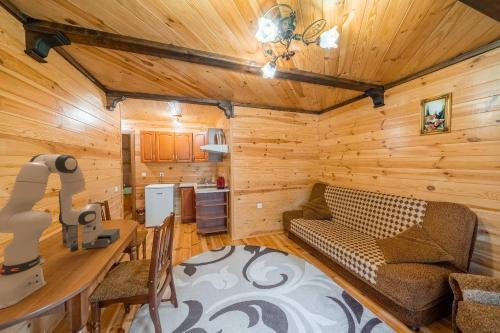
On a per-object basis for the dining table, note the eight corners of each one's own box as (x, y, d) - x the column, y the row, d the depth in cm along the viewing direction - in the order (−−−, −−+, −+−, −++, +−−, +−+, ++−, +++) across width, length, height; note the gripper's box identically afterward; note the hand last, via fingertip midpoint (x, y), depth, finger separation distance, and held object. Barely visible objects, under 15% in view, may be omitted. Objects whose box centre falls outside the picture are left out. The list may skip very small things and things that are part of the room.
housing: (111, 243, 144) (111, 234, 144) (87, 246, 140) (87, 236, 140) (119, 236, 158) (119, 228, 158) (97, 238, 154) (97, 230, 154)
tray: (107, 246, 138) (107, 239, 138) (81, 248, 134) (81, 241, 133) (115, 238, 151) (115, 232, 151) (92, 240, 147) (92, 233, 147)
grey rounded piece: (75, 251, 132) (75, 245, 132) (69, 251, 131) (69, 246, 131) (79, 248, 136) (79, 243, 136) (72, 249, 135) (72, 243, 135)
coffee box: (62, 245, 141) (61, 224, 141) (73, 242, 147) (72, 221, 146) (67, 248, 137) (66, 226, 137) (78, 244, 143) (78, 223, 142)
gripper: (96, 220, 143) (96, 238, 143) (79, 230, 123) (79, 251, 123) (105, 220, 144) (106, 238, 145) (90, 229, 125) (90, 250, 125)
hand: (93, 244), depth 134 cm, fingers closed
